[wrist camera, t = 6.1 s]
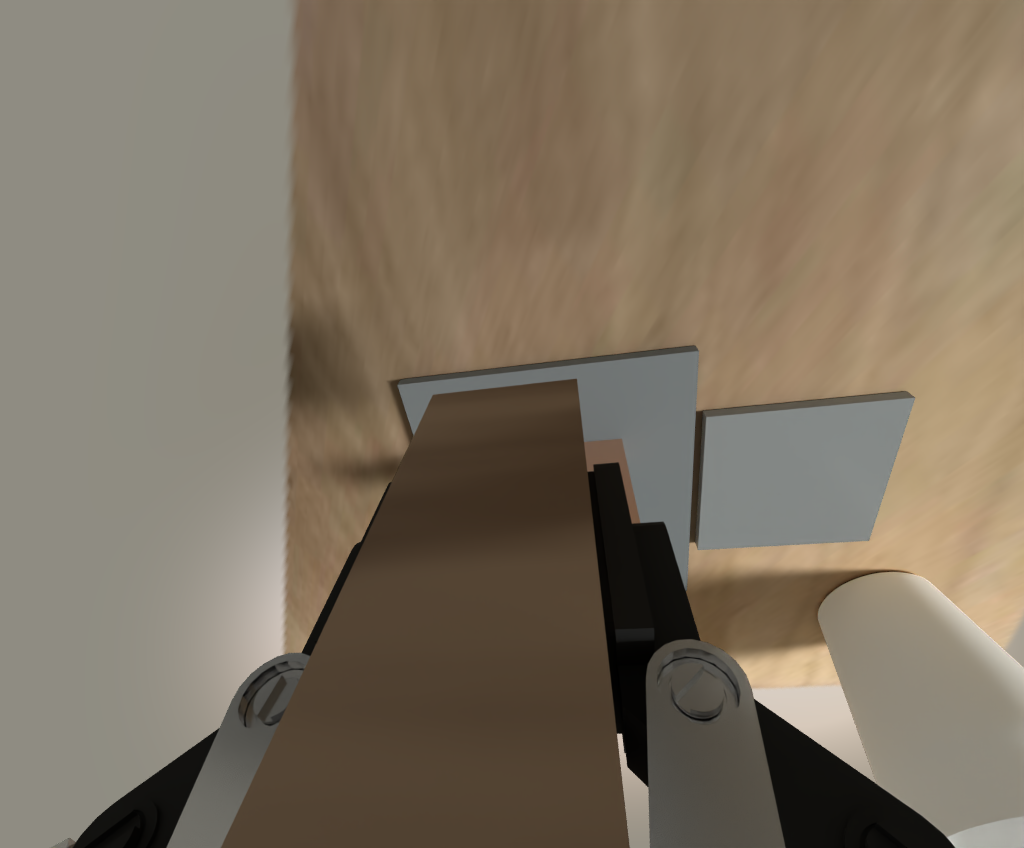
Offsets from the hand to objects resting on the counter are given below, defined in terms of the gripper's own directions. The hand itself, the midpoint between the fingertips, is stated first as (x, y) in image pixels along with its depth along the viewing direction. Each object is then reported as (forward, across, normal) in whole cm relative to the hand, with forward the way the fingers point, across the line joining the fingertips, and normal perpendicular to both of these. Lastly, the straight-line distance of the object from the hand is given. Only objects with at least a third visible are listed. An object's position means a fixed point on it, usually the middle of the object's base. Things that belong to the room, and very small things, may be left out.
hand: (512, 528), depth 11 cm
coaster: (+13, -12, +10) cm, 20 cm away
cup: (+13, -19, +21) cm, 31 cm away
